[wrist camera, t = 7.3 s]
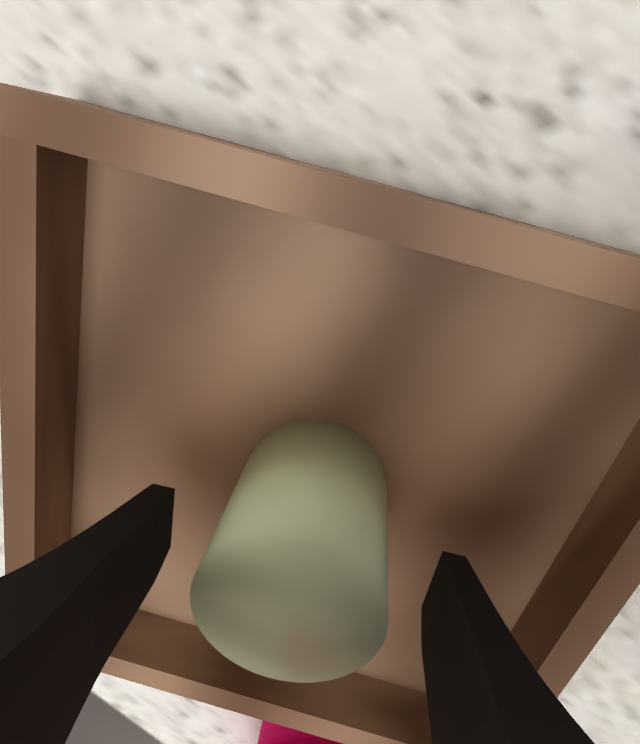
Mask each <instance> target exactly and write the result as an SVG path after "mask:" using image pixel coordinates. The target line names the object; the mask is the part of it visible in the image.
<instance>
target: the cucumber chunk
mask: <svg viewBox="0 0 640 744" xmlns="http://www.w3.org/2000/svg"><path fill="white" fill-rule="evenodd" d="M190 606H191V610H192V614H193V617H194V619H195V622H196V624H197V626H198V627H199V629H200V631H201V632H202V634H203V635H204V636H205V638H206V639H207V640H208V641H209V643H210V644H211V645H212V646H213V647H214V648H215V649H216V650H218V651H219V652H220V653H221V654H222V655H223V656H225V657H226V658H228V659H229V660H231V661H232V662H234V663H235V664H237V665H239V666H241V667H242V668H244V669H247V670H249V671H251V672H253V673H256V674H259V675H262V676H265V677H268V678H272V679H276V680H281V681H287V682H298V683H314V682H323V681H329V680H333V679H337V678H340V677H343V676H346V675H348V674H351V673H353V672H355V671H357V670H358V669H360V668H361V667H363V666H364V665H366V664H367V663H368V662H369V661H370V660H371V659H372V658H373V657H374V656H375V655H376V654H377V653H378V651H379V650H380V648H381V646H382V645H383V643H384V640H385V637H386V634H387V629H388V547H387V477H386V471H385V468H384V465H383V463H382V461H381V459H380V457H379V455H378V454H377V452H376V451H375V449H374V448H373V447H372V446H371V445H370V444H369V443H368V442H367V441H366V440H365V439H364V438H363V437H362V436H360V435H359V434H357V433H356V432H354V431H353V430H351V429H349V428H347V427H345V426H342V425H339V424H336V423H333V422H329V421H324V420H316V419H306V420H297V421H293V422H289V423H286V424H283V425H281V426H278V427H277V428H275V429H273V430H271V431H270V432H268V433H267V434H266V435H265V436H264V437H263V438H262V439H261V440H260V441H259V442H258V443H257V444H256V446H255V447H254V449H253V451H252V453H251V455H250V457H249V459H248V461H247V463H246V465H245V468H244V470H243V472H242V474H241V476H240V478H239V480H238V483H237V485H236V487H235V489H234V491H233V493H232V495H231V497H230V500H229V502H228V504H227V506H226V508H225V510H224V512H223V515H222V517H221V519H220V521H219V523H218V525H217V527H216V529H215V532H214V534H213V536H212V538H211V540H210V542H209V544H208V547H207V549H206V551H205V553H204V555H203V557H202V559H201V561H200V564H199V566H198V568H197V570H196V572H195V574H194V576H193V580H192V583H191V587H190Z"/></svg>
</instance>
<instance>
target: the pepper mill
mask: <svg viewBox="0 0 640 744" xmlns="http://www.w3.org/2000/svg"><path fill="white" fill-rule="evenodd" d="M258 744H343V743H339V742H336V741H332V740H329V739H326V738H322V737H319V736H315V735H312V734H309V733H305V732H302V731H299V730H295V729H292V728H288V727H285V726H282V725H278V724H275V723H271V722H268V721H265V720H263V723H262V727H261V731H260V736H259V740H258Z"/></svg>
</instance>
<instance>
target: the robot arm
mask: <svg viewBox="0 0 640 744" xmlns="http://www.w3.org/2000/svg"><path fill="white" fill-rule="evenodd" d="M174 496H175V488H171V487H166V486H162V485H158V484H151V485H150V486H148V487H147V488H145V489H144V490H142V491H141V492H140V493H138V494H137V495H135V496H134V497H133V498H131V499H130V500H128V501H127V502H125V503H124V504H123V505H121V506H120V507H118V508H117V509H115V510H114V511H113V512H111V513H110V514H108V515H107V516H105V517H104V518H102V519H101V520H99V521H98V522H96V523H95V524H93V525H92V526H90V527H89V528H87V529H86V530H84V531H83V532H81V533H79V534H78V535H76V536H75V537H73V538H71V539H70V540H68V541H66V542H65V543H63V544H61V545H60V546H58V547H56V548H55V549H53V550H51V551H50V552H48V553H46V554H44V555H43V556H41V557H39V558H37V559H35V560H33V561H32V562H30V563H28V564H26V565H24V566H22V567H20V568H18V569H16V570H14V571H12V572H10V573H8V574H6V575H4V576H2V577H0V744H65V742H66V740H67V738H68V736H69V734H70V732H71V730H72V727H73V725H74V723H75V721H76V719H77V717H78V715H79V713H80V711H81V709H82V707H83V705H84V703H85V701H86V699H87V697H88V695H89V693H90V691H91V689H92V687H93V685H94V683H95V681H96V679H97V677H98V676H99V674H100V672H101V670H102V668H103V667H104V665H105V663H106V661H107V660H108V658H109V656H110V655H111V653H112V652H113V650H114V648H115V647H116V645H117V643H118V642H119V640H120V638H121V637H122V635H123V634H124V632H125V630H126V629H127V627H128V625H129V624H130V622H131V620H132V619H133V617H134V616H135V614H136V612H137V611H138V609H139V607H140V606H141V604H142V602H143V601H144V599H145V597H146V596H147V594H148V592H149V591H150V589H151V587H152V586H153V584H154V582H155V580H156V578H157V576H158V574H159V572H160V569H161V567H162V565H163V563H164V561H165V558H166V556H167V554H168V552H169V550H170V547H171V536H172V523H173V509H174ZM421 649H422V658H423V668H424V677H425V686H426V694H427V703H428V712H429V720H430V729H431V738H432V744H595V743H594V742H593V741H592V740H591V739H590V738H589V737H588V735H587V734H586V733H585V732H584V731H583V730H582V729H581V727H580V726H579V725H578V724H577V723H576V721H575V720H574V719H573V718H572V717H571V715H570V714H569V713H568V712H567V710H566V709H565V708H564V706H563V705H562V704H561V703H560V701H559V700H558V699H557V698H556V696H555V695H554V694H553V692H552V691H551V690H550V689H549V687H548V686H547V685H546V683H545V682H544V681H543V679H542V678H541V677H540V675H539V674H538V672H537V671H536V670H535V668H534V667H533V665H532V664H531V662H530V661H529V659H528V658H527V657H526V655H525V654H524V652H523V651H522V649H521V648H520V646H519V645H518V643H517V642H516V640H515V639H514V637H513V635H512V634H511V632H510V631H509V629H508V627H507V626H506V624H505V622H504V621H503V619H502V618H501V616H500V614H499V613H498V611H497V609H496V608H495V606H494V604H493V603H492V601H491V599H490V598H489V596H488V594H487V592H486V591H485V589H484V587H483V585H482V584H481V582H480V580H479V578H478V577H477V575H476V573H475V571H474V570H473V568H472V566H471V564H470V563H469V561H468V559H467V558H466V556H462V555H458V554H454V553H449V552H445V551H442V553H441V556H440V559H439V561H438V564H437V567H436V569H435V572H434V575H433V577H432V580H431V583H430V585H429V588H428V591H427V593H426V596H425V599H424V601H423V604H422V607H421Z"/></svg>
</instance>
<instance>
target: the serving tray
mask: <svg viewBox="0 0 640 744" xmlns="http://www.w3.org/2000/svg"><path fill="white" fill-rule="evenodd" d="M0 408H1V443H2V477H3V512H4V547H5V575H6V574H8V573H10V572H12V571H14V570H16V569H18V568H20V567H22V566H24V565H26V564H28V563H30V562H32V561H33V560H35V559H37V558H39V557H41V556H43V555H44V554H46V553H48V552H50V551H51V550H53V549H55V548H56V547H58V546H60V545H61V544H63V543H65V542H66V541H68V540H70V539H71V538H73V537H75V536H76V535H78V534H79V533H81V532H83V531H84V530H86V529H87V528H89V527H90V526H92V525H93V524H95V523H96V522H98V521H99V520H101V519H102V518H104V517H105V516H107V515H108V514H110V513H111V512H113V511H114V510H115V509H117V508H118V507H120V506H121V505H123V504H124V503H125V502H127V501H128V500H130V499H131V498H133V497H134V496H135V495H137V494H138V493H140V492H141V491H142V490H144V489H145V488H147V487H148V486H150V485H151V484H158V485H162V486H166V487H171V488H175V496H174V509H173V523H172V536H171V547H170V550H169V552H168V554H167V556H166V558H165V561H164V563H163V565H162V567H161V569H160V572H159V574H158V576H157V578H156V580H155V582H154V584H153V586H152V587H151V589H150V591H149V592H148V594H147V596H146V597H145V599H144V601H143V602H142V604H141V606H140V607H139V609H138V611H137V612H136V614H135V616H134V617H133V619H132V620H131V622H130V624H129V625H128V627H127V629H126V630H125V632H124V634H123V635H122V637H121V638H120V640H119V642H118V643H117V645H116V647H115V648H114V650H113V652H112V653H111V655H110V656H109V658H108V660H107V661H106V663H105V665H104V667H103V668H102V670H101V672H102V673H105V674H109V675H112V676H115V677H119V678H122V679H126V680H129V681H132V682H136V683H139V684H143V685H146V686H149V687H153V688H156V689H160V690H163V691H166V692H170V693H173V694H176V695H180V696H183V697H187V698H190V699H193V700H197V701H200V702H204V703H207V704H210V705H214V706H217V707H221V708H224V709H227V710H231V711H234V712H237V713H241V714H244V715H248V716H251V717H254V718H258V719H261V720H265V721H268V722H271V723H275V724H278V725H282V726H285V727H288V728H292V729H295V730H299V731H302V732H305V733H309V734H312V735H315V736H319V737H322V738H326V739H329V740H332V741H336V742H339V743H343V744H432V738H431V729H430V720H429V712H428V703H427V694H426V686H425V677H424V668H423V658H422V649H421V607H422V604H423V601H424V599H425V596H426V593H427V591H428V588H429V585H430V583H431V580H432V577H433V575H434V572H435V569H436V567H437V564H438V561H439V559H440V556H441V553H442V551H445V552H449V553H454V554H458V555H462V556H466V558H467V559H468V561H469V563H470V564H471V566H472V568H473V570H474V571H475V573H476V575H477V577H478V578H479V580H480V582H481V584H482V585H483V587H484V589H485V591H486V592H487V594H488V596H489V598H490V599H491V601H492V603H493V604H494V606H495V608H496V609H497V611H498V613H499V614H500V616H501V618H502V619H503V621H504V622H505V624H506V626H507V627H508V629H509V631H510V632H511V634H512V635H513V637H514V639H515V640H516V642H517V643H518V645H519V646H520V648H521V649H522V651H523V652H524V654H525V655H526V657H527V658H528V659H529V661H530V662H531V664H532V665H533V667H534V668H535V670H536V671H537V672H538V674H539V675H540V677H541V678H542V679H543V681H544V682H545V683H546V685H547V686H548V687H549V689H550V690H551V691H552V692H553V694H554V695H555V696H556V698H557V697H558V696H559V694H560V693H561V692H562V690H563V689H564V688H565V686H566V685H567V683H568V682H569V681H570V679H571V678H572V676H573V675H574V674H575V672H576V671H577V670H578V668H579V667H580V665H581V664H582V663H583V661H584V660H585V658H586V657H587V656H588V654H589V653H590V652H591V650H592V649H593V647H594V646H595V645H596V643H597V642H598V641H599V639H600V638H601V636H602V635H603V634H604V632H605V631H606V629H607V628H608V627H609V625H610V624H611V623H612V621H613V620H614V618H615V617H616V616H617V614H618V613H619V611H620V610H621V609H622V607H623V606H624V605H625V603H626V602H627V600H628V599H629V598H630V596H631V595H632V593H633V592H634V591H635V589H636V588H637V587H638V585H639V584H640V255H638V254H634V253H631V252H627V251H623V250H620V249H616V248H612V247H609V246H605V245H602V244H598V243H594V242H591V241H587V240H583V239H580V238H576V237H573V236H569V235H565V234H562V233H558V232H554V231H551V230H547V229H543V228H540V227H536V226H533V225H529V224H525V223H522V222H518V221H514V220H511V219H507V218H504V217H500V216H496V215H493V214H489V213H485V212H482V211H478V210H474V209H471V208H467V207H464V206H460V205H456V204H453V203H449V202H445V201H442V200H438V199H435V198H431V197H427V196H424V195H420V194H416V193H413V192H409V191H405V190H402V189H398V188H395V187H391V186H387V185H384V184H380V183H376V182H373V181H369V180H366V179H362V178H358V177H355V176H351V175H347V174H344V173H340V172H336V171H333V170H329V169H326V168H322V167H318V166H315V165H311V164H307V163H304V162H300V161H297V160H293V159H289V158H286V157H282V156H278V155H275V154H271V153H267V152H264V151H260V150H257V149H253V148H249V147H246V146H242V145H238V144H235V143H231V142H228V141H224V140H220V139H217V138H213V137H209V136H206V135H202V134H199V133H195V132H191V131H188V130H184V129H180V128H177V127H173V126H169V125H166V124H162V123H159V122H155V121H151V120H148V119H144V118H140V117H137V116H133V115H130V114H126V113H122V112H119V111H115V110H111V109H108V108H104V107H100V106H97V105H93V104H90V103H86V102H82V101H79V100H75V99H71V98H66V97H62V96H57V95H53V94H48V93H44V92H39V91H35V90H30V89H26V88H22V87H17V86H13V85H8V84H4V83H0ZM306 419H316V420H324V421H329V422H333V423H336V424H339V425H342V426H345V427H347V428H349V429H351V430H353V431H354V432H356V433H357V434H359V435H360V436H362V437H363V438H364V439H365V440H366V441H367V442H368V443H369V444H370V445H371V446H372V447H373V448H374V449H375V451H376V452H377V454H378V455H379V457H380V459H381V461H382V463H383V465H384V468H385V471H386V477H387V547H388V629H387V634H386V637H385V640H384V643H383V645H382V646H381V648H380V650H379V651H378V653H377V654H376V655H375V656H374V657H373V658H372V659H371V660H370V661H369V662H368V663H367V664H366V665H364V666H363V667H361V668H360V669H358V670H357V671H355V672H353V673H351V674H348V675H346V676H343V677H340V678H337V679H333V680H329V681H323V682H314V683H298V682H287V681H281V680H276V679H272V678H268V677H265V676H262V675H259V674H256V673H253V672H251V671H249V670H247V669H244V668H242V667H241V666H239V665H237V664H235V663H234V662H232V661H231V660H229V659H228V658H226V657H225V656H223V655H222V654H221V653H220V652H219V651H218V650H216V649H215V648H214V647H213V646H212V645H211V644H210V643H209V641H208V640H207V639H206V638H205V636H204V635H203V634H202V632H201V631H200V629H199V627H198V626H197V624H196V622H195V619H194V617H193V614H192V610H191V606H190V587H191V583H192V580H193V576H194V574H195V572H196V570H197V568H198V566H199V564H200V561H201V559H202V557H203V555H204V553H205V551H206V549H207V547H208V544H209V542H210V540H211V538H212V536H213V534H214V532H215V529H216V527H217V525H218V523H219V521H220V519H221V517H222V515H223V512H224V510H225V508H226V506H227V504H228V502H229V500H230V497H231V495H232V493H233V491H234V489H235V487H236V485H237V483H238V480H239V478H240V476H241V474H242V472H243V470H244V468H245V465H246V463H247V461H248V459H249V457H250V455H251V453H252V451H253V449H254V447H255V446H256V444H257V443H258V442H259V441H260V440H261V439H262V438H263V437H264V436H265V435H266V434H267V433H268V432H270V431H271V430H273V429H275V428H277V427H278V426H281V425H283V424H286V423H289V422H293V421H297V420H306Z"/></svg>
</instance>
